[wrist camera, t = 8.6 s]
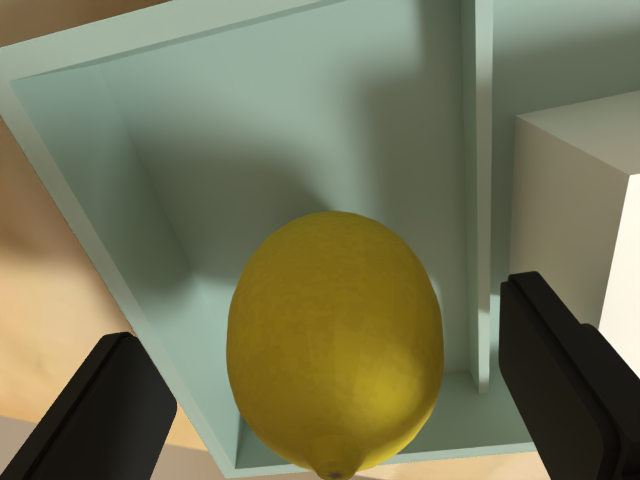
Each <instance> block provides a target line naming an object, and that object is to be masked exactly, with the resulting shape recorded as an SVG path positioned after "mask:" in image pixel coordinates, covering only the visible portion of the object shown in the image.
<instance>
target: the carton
mask: <svg viewBox="0 0 640 480" xmlns="http://www.w3.org/2000/svg"><path fill="white" fill-rule="evenodd" d="M530 271H537V272H539V273H540V274H541V276H542V277H543V278H544V279H545V281H546V282H547V283H548V284H549V286H550V287H551V288H552V289H553V290H554V292H555V293H556V294H557V295H558V297H559V298H560V299H561V300H562V302H563V303H564V304H565V305H566V306H567V308H568V309H569V310H570V311H571V313H572V314H573V315H574V316H575V318H576V319H577V320H578V321H579V322H580V324H583V323H589V324H591V325H593V326H594V327H595V328H596V329H597V330H598V331H599V332H600V333H601V334H602V335H603V336H604V337H605V339H606V340H607V341H608V342H609V343H610V344H611V346H612V347H613V348H614V349H615V350H616V351H617V353H618V354H619V355H620V356H621V357H622V358H623V360H624V361H625V362H626V363H627V364H628V366H629V367H630V368H631V369H632V370H633V371H634V373H635V374H636V375H637V376H638V377H639V378H640V90H639V91H634V92H629V93H624V94H619V95H614V96H609V97H604V98H599V99H594V100H589V101H584V102H579V103H574V104H569V105H564V106H560V107H555V108H550V109H545V110H540V111H535V112H530V113H525V114H520V115H516V118H515V142H514V167H513V191H512V216H511V240H510V265H509V275H510V274H516V273H523V272H530Z"/></svg>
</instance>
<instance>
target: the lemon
mask: <svg viewBox="0 0 640 480" xmlns="http://www.w3.org/2000/svg"><path fill="white" fill-rule="evenodd" d="M226 364H227V374H228V378H229V382H230V387H231V390H232V393H233V396H234V400H235V403H236V405H237V407H238V410H239V412H240V414H241V416H242V417H243V418H244V420H245V421H246V422H247V424H248V425H249V427H250V428H251V429H252V431H253V432H254V434H255V435H256V436H257V438H258V439H259V440H261V441H262V442H263V443H264V444H265V445H266V446H267V447H268V448H270V449H271V450H272V451H273V452H274V453H276V454H277V455H278V456H280V457H281V458H283V459H285V460H287V461H288V462H290V463H292V464H294V465H296V466H298V467H301V468H304V469H307V470H310V471H315V472H316V473H317V475H318V476H319V477H320V478H322V479H324V480H348V479H350V478H351V477H352V476H353V475H354V474H355V473H356V472H359V471H362V470H366V469H369V468H372V467H374V466H376V465H378V464H380V463H382V462H384V461H386V460H388V459H390V458H391V457H393V456H394V455H396V454H397V453H398V452H399V451H401V450H402V449H403V448H404V447H405V446H406V445H408V444H409V443H410V442H411V441H412V440H413V439H414V438H415V436H416V435H417V433H418V432H419V431H420V429H421V428H422V427H423V425H424V424H425V422H426V421H427V420H428V418H429V417H430V415H431V413H432V411H433V408H434V406H435V404H436V400H437V397H438V394H439V391H440V387H441V383H442V378H443V373H444V339H443V326H442V316H441V311H440V306H439V302H438V299H437V296H436V293H435V291H434V289H433V287H432V284H431V282H430V280H429V277H428V275H427V273H426V270H425V268H424V266H423V265H422V263H421V261H420V260H419V258H418V257H417V256H416V255H415V253H414V252H413V251H412V250H411V249H410V248H409V246H408V245H407V244H406V243H405V242H404V241H403V239H402V238H401V237H400V236H398V235H397V234H396V233H395V232H393V231H392V230H390V229H389V228H387V227H386V226H384V225H382V224H381V223H379V222H378V221H376V220H373V219H371V218H368V217H365V216H362V215H359V214H356V213H351V212H341V211H325V212H317V213H311V214H308V215H305V216H303V217H300V218H297V219H295V220H292V221H290V222H288V223H287V224H285V225H284V226H282V227H281V228H279V229H278V230H276V231H275V232H274V233H272V234H271V235H269V236H268V237H267V238H266V239H265V241H264V242H263V243H262V244H261V245H260V247H259V248H258V249H257V250H256V251H255V253H254V254H253V255H252V256H251V258H250V259H249V260H248V262H247V264H246V265H245V267H244V269H243V272H242V274H241V277H240V279H239V281H238V284H237V286H236V289H235V291H234V294H233V296H232V300H231V304H230V308H229V314H228V325H227V341H226Z"/></svg>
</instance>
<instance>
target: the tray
mask: <svg viewBox="0 0 640 480" xmlns="http://www.w3.org/2000/svg"><path fill="white" fill-rule="evenodd" d="M639 90H640V0H172V1H169V2H165V3H161V4H158V5H154V6H150V7H147V8H143V9H139V10H136V11H132V12H128V13H125V14H121V15H117V16H114V17H110V18H106V19H103V20H99V21H95V22H92V23H88V24H84V25H81V26H77V27H74V28H70V29H66V30H63V31H59V32H55V33H52V34H48V35H44V36H41V37H37V38H33V39H30V40H26V41H22V42H19V43H15V44H11V45H8V46H4V47H0V115H1V117H2V119H3V120H4V122H5V124H6V125H7V127H8V128H9V130H10V132H11V133H12V135H13V136H14V138H15V140H16V141H17V143H18V144H19V146H20V148H21V149H22V151H23V153H24V154H25V156H26V157H27V159H28V161H29V162H30V164H31V165H32V167H33V169H34V170H35V172H36V173H37V175H38V177H39V178H40V180H41V182H42V183H43V185H44V186H45V188H46V190H47V191H48V193H49V194H50V196H51V198H52V199H53V201H54V203H55V204H56V206H57V207H58V209H59V211H60V212H61V214H62V215H63V217H64V219H65V220H66V222H67V223H68V225H69V227H70V228H71V230H72V232H73V233H74V235H75V236H76V238H77V240H78V241H79V243H80V244H81V246H82V248H83V249H84V251H85V252H86V254H87V256H88V257H89V259H90V261H91V262H92V264H93V265H94V267H95V269H96V270H97V272H98V273H99V275H100V277H101V278H102V280H103V282H104V283H105V285H106V286H107V288H108V290H109V291H110V293H111V294H112V296H113V298H114V299H115V301H116V302H117V304H118V306H119V307H120V309H121V311H122V312H123V314H124V315H125V317H126V319H127V320H128V322H129V323H130V325H131V327H132V328H133V330H134V331H135V333H136V335H137V336H138V338H139V340H140V341H141V343H142V344H143V346H144V348H145V349H146V351H147V352H148V354H149V356H150V357H151V359H152V360H153V362H154V364H155V365H156V367H157V369H158V370H159V372H160V373H161V375H162V377H163V378H164V380H165V381H166V383H167V385H168V386H169V388H170V390H171V391H172V393H173V394H174V396H175V398H176V399H177V401H178V402H179V404H180V406H181V407H182V409H183V410H184V412H185V414H186V415H187V417H188V419H189V420H190V422H191V423H192V425H193V427H194V428H195V430H196V431H197V433H198V435H199V436H200V438H201V439H202V441H203V443H204V444H205V446H206V448H207V449H208V451H209V452H210V454H211V455H212V457H213V459H214V460H215V462H216V464H217V465H218V467H219V468H220V470H221V472H222V473H223V475H224V477H225V478H239V477H250V476H262V475H272V474H284V473H295V472H306V471H310V470H307V469H304V468H301V467H298V466H296V465H294V464H292V463H290V462H288V461H287V460H285V459H283V458H281V457H280V456H278V455H277V454H276V453H274V452H273V451H272V450H271V449H270V448H268V447H267V446H266V445H265V444H264V443H263V442H262V441H261V440H259V439H258V438H257V436H256V435H255V434H254V432H253V431H252V429H251V428H250V427H249V425H248V424H247V422H246V421H245V420H244V418H243V417H242V416H241V414H240V412H239V410H238V407H237V405H236V403H235V400H234V396H233V393H232V390H231V387H230V382H229V378H228V374H227V364H226V341H227V325H228V314H229V308H230V304H231V300H232V296H233V294H234V291H235V289H236V286H237V284H238V281H239V279H240V277H241V274H242V272H243V269H244V267H245V265H246V264H247V262H248V260H249V259H250V258H251V256H252V255H253V254H254V253H255V251H256V250H257V249H258V248H259V247H260V245H261V244H262V243H263V242H264V241H265V239H266V238H267V237H268V236H269V235H271V234H272V233H274V232H275V231H276V230H278V229H279V228H281V227H282V226H284V225H285V224H287V223H288V222H290V221H292V220H295V219H297V218H300V217H303V216H305V215H308V214H311V213H317V212H325V211H341V212H351V213H356V214H359V215H362V216H365V217H368V218H371V219H373V220H376V221H378V222H379V223H381V224H382V225H384V226H386V227H387V228H389V229H390V230H392V231H393V232H395V233H396V234H397V235H398V236H400V237H401V238H402V239H403V241H404V242H405V243H406V244H407V245H408V246H409V248H410V249H411V250H412V251H413V252H414V253H415V255H416V256H417V257H418V258H419V260H420V261H421V263H422V265H423V266H424V268H425V270H426V273H427V275H428V277H429V280H430V282H431V284H432V287H433V289H434V291H435V293H436V296H437V299H438V302H439V306H440V311H441V316H442V326H443V339H444V373H443V378H442V383H441V387H440V391H439V394H438V397H437V400H436V404H435V406H434V408H433V411H432V413H431V415H430V417H429V418H428V420H427V421H426V422H425V424H424V425H423V427H422V428H421V429H420V431H419V432H418V433H417V435H416V436H415V438H414V439H413V440H412V441H411V442H410V443H409V444H408V445H406V446H405V447H404V448H403V449H402V450H401V451H399V452H398V453H397V454H396V455H394V456H393V457H391V458H390V459H388V460H386V461H384V462H382V463H380V464H378V465H386V464H398V463H409V462H420V461H432V460H443V459H455V458H466V457H477V456H489V455H500V454H511V453H523V452H534V451H537V449H536V447H535V445H534V443H533V440H532V438H531V436H530V434H529V432H528V430H527V428H526V426H525V424H524V421H523V419H522V417H521V415H520V413H519V411H518V409H517V407H516V405H515V402H514V400H513V398H512V396H511V394H510V392H509V390H508V388H507V385H506V383H505V381H504V379H503V377H502V375H501V372H500V368H499V363H498V352H499V315H500V285H501V282H505V281H507V280H508V276H509V265H510V240H511V216H512V191H513V167H514V142H515V118H516V115H520V114H525V113H530V112H535V111H540V110H545V109H550V108H555V107H560V106H564V105H569V104H574V103H579V102H584V101H589V100H594V99H599V98H604V97H609V96H614V95H619V94H624V93H629V92H634V91H639Z"/></svg>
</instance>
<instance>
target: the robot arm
mask: <svg viewBox="0 0 640 480" xmlns="http://www.w3.org/2000/svg"><path fill="white" fill-rule="evenodd" d="M498 363H499V368H500V372H501V375H502V377H503V379H504V381H505V383H506V385H507V388H508V390H509V392H510V394H511V396H512V398H513V400H514V402H515V405H516V407H517V409H518V411H519V413H520V415H521V417H522V419H523V421H524V424H525V426H526V428H527V430H528V432H529V434H530V436H531V438H532V440H533V443H534V445H535V447H536V449H537V451H538V453H539V455H540V457H541V460H542V462H543V464H544V466H545V468H546V470H547V472H548V474H549V476H550V479H551V480H640V378H639V377H638V376H637V375H636V374H635V373H634V371H633V370H632V369H631V368H630V367H629V366H628V364H627V363H626V362H625V361H624V360H623V358H622V357H621V356H620V355H619V354H618V353H617V351H616V350H615V349H614V348H613V347H612V346H611V344H610V343H609V342H608V341H607V340H606V339H605V337H604V336H603V335H602V334H601V333H600V332H599V331H598V330H597V329H596V328H595V327H594V326H593V325H591V324H589V323H583V324H580V322H579V321H578V320H577V319H576V318H575V316H574V315H573V314H572V313H571V311H570V310H569V309H568V308H567V306H566V305H565V304H564V303H563V302H562V300H561V299H560V298H559V297H558V295H557V294H556V293H555V292H554V290H553V289H552V288H551V287H550V286H549V284H548V283H547V282H546V281H545V279H544V278H543V277H542V276H541V274H540V273H539V272H537V271H530V272H523V273H516V274H510V275H509V276H508V280H507V281H505V282H501V285H500V315H499V352H498ZM176 412H177V401H176V399H175V397H174V396H173V394H172V392H171V391H170V389H169V387H168V386H167V384H166V383H165V381H164V379H163V378H162V376H161V375H160V373H159V371H158V370H157V368H156V367H155V365H154V363H153V362H152V360H151V359H150V357H149V355H148V354H147V352H146V350H145V349H144V347H143V346H142V344H141V342H140V341H139V339H138V338H137V337H135V336H133V335H132V334H131V333H129V332H120V333H113V334H107V335H104V336H103V337H102V338H101V339H100V340H99V341H98V343H97V344H96V345H95V347H94V348H93V350H92V351H91V352H90V354H89V355H88V356H87V358H86V359H85V361H84V362H83V363H82V365H81V366H80V367H79V369H78V370H77V371H76V373H75V374H74V376H73V377H72V378H71V380H70V381H69V382H68V384H67V385H66V386H65V388H64V389H63V391H62V392H61V393H60V395H59V396H58V397H57V399H56V400H55V402H54V403H53V404H52V406H51V407H50V408H49V410H48V411H47V412H46V414H45V415H44V417H43V418H42V419H41V421H40V422H39V423H38V425H37V426H36V428H35V429H34V430H33V432H32V433H31V434H30V436H29V437H28V439H27V440H26V441H25V443H24V444H23V445H22V447H21V448H20V449H19V451H18V452H17V454H16V455H15V456H14V458H13V459H12V460H11V462H10V463H9V464H8V466H7V467H6V469H5V470H4V471H3V473H2V474H1V475H0V480H150V477H151V475H152V473H153V470H154V467H155V465H156V463H157V460H158V458H159V455H160V452H161V450H162V447H163V445H164V443H165V440H166V438H167V435H168V433H169V430H170V428H171V425H172V423H173V420H174V418H175V415H176Z"/></svg>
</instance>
